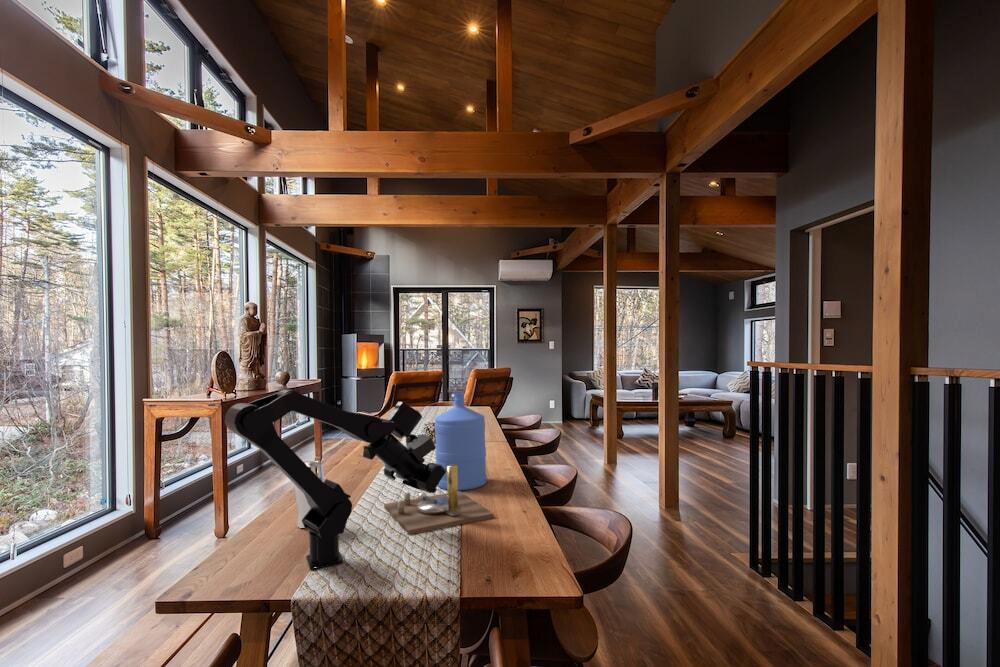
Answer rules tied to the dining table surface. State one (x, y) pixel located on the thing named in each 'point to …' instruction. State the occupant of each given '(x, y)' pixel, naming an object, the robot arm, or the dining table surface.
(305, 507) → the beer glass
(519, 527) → the dining table surface
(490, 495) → the dining table surface
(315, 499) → the robot arm
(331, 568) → the dining table surface
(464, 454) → the water jug
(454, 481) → the dial
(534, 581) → the dining table surface
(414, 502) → the walnut board
